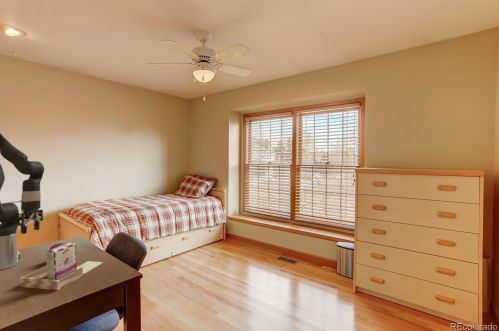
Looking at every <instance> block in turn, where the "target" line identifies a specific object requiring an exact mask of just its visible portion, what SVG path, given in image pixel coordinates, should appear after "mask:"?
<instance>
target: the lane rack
mask: <svg viewBox="0 0 499 331" xmlns="http://www.w3.org/2000/svg"><path fill="white" fill-rule="evenodd" d="M83 276H84V274H83V268H82V267H81V268H79V269H77V270H75V271H73V272H72V273H70V274H68V275H66V276H64V277H62V278H61V279H59V280H52V279H47V265H45V266H43V267H41V268H38V269H37V270H34V271H32V272H30V273H28V274H25V275H24V276H21V277H20V278H19V287H21V288H30V289H42V290H50V291H52V290H53V291H59V290H60V289H63V288H64V287H66V286H68V285H69V284H71V283H73V282H74V281H76V280H78V279H79V278H81V277H83Z"/></svg>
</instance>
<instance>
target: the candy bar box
mask: <svg viewBox="0 0 499 331" xmlns="http://www.w3.org/2000/svg"><path fill="white" fill-rule="evenodd" d="M76 246H77V243H72V242H67V243H64V245H61V246H58V247H56V248H53V249H51V250H49V249H48V250H46V266H47V279H52V280H59V279H61V278H62V277H64V276H66V275H68V274H70V273H72V272H73V271H75V270H77V269H76V267H77V247H76Z"/></svg>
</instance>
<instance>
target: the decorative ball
mask: <svg viewBox="0 0 499 331" xmlns="http://www.w3.org/2000/svg"><path fill="white" fill-rule="evenodd" d="M64 244H65V243H63V242H58V243H55V244H53V245H51V247H50V248H49V249H48V250H51V249H53V248H56V247H58V246H61V245H64Z"/></svg>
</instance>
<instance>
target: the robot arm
mask: <svg viewBox="0 0 499 331" xmlns="http://www.w3.org/2000/svg"><path fill="white" fill-rule="evenodd" d="M0 155H1V156H2V157H3V158H4V159H5V160H7V162H9V163H10V164H12V165H13V166H14V168H15V169H16V170H17V171H18V173H21V174H22V175H26V176H29V177H28V178H27V179H25V180H23V181H22V187H21V188H22V189H21V190H22V191H21V200H20V201H21V202H20V205H21V206H20V208H21V210H22V211H23V212H20V211H19V208H18V206H17V204H16V203H14V202H5V203H2V201H0V270H1V271H2V270H6V269H10V268H13V267H15V266H17V264H18V239H17V236H18V235H17V232H18V231H17V229H18V227H20V234H21V235H25V234H27V232H28V224H29V223H30V222H31V221H33V230H34V231H38V230H40V228H41V227H40V225H41V224H40V223H41V222H42V221H44V210H43V209H40V208H41V196H42V194H41V181H42V179H43V177H44V173H45V166H44V164H43V163H42V162H41V161H33V160H28V159H29V158H28V157H29V156H27V155H26V154H25V153H24V152H22V151H21V150H20V149H18V148H17V147H16V146H14V145H13V144H12V143H11V142H10V141H9V140H7V138H6V137H5V136H4V135H3V134H2V133H1V132H0ZM5 180H6V176H5V173H4V169H3V165H2V164H1V163H0V191H1V190H2V188H3V185H4V183H5Z"/></svg>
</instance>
